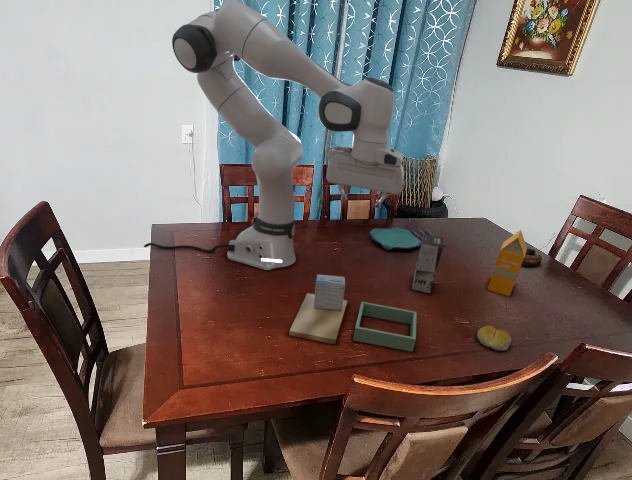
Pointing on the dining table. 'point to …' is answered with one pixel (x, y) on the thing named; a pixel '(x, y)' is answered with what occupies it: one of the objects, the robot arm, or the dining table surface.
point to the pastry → (531, 258)
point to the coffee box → (427, 263)
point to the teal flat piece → (397, 238)
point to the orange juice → (508, 264)
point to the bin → (385, 337)
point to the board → (317, 322)
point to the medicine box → (329, 292)
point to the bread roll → (494, 338)
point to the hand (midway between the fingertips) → (360, 203)
